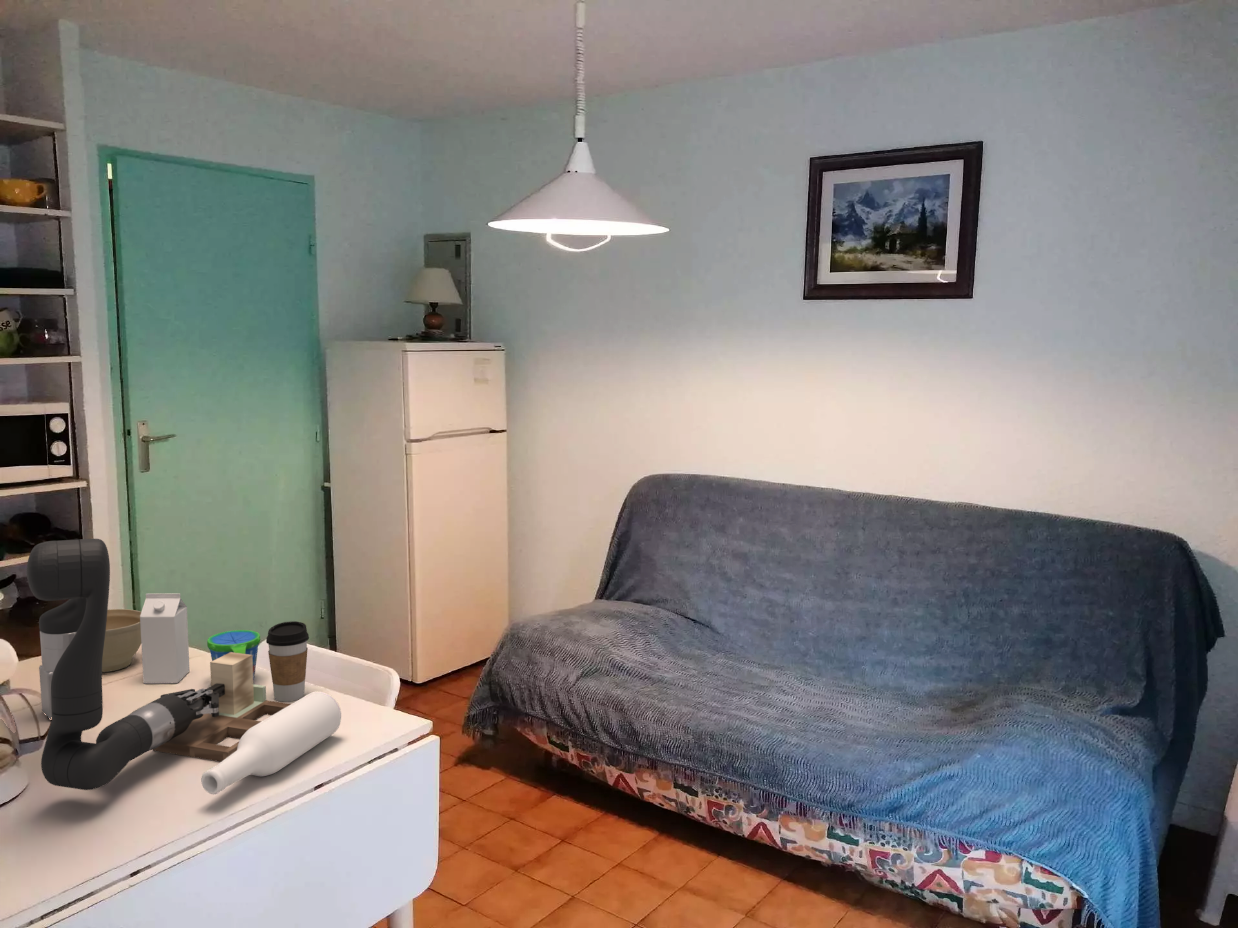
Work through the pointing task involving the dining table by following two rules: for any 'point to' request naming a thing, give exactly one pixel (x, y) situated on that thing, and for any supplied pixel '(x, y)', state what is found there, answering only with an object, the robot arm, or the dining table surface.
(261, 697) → the green l-shaped block
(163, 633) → the milk carton
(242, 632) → the snack cup
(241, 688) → the maple block
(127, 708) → the dining table surface
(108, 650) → the planter bowl
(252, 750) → the alcohol
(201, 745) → the brown wooden flat frame
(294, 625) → the coffee cup
